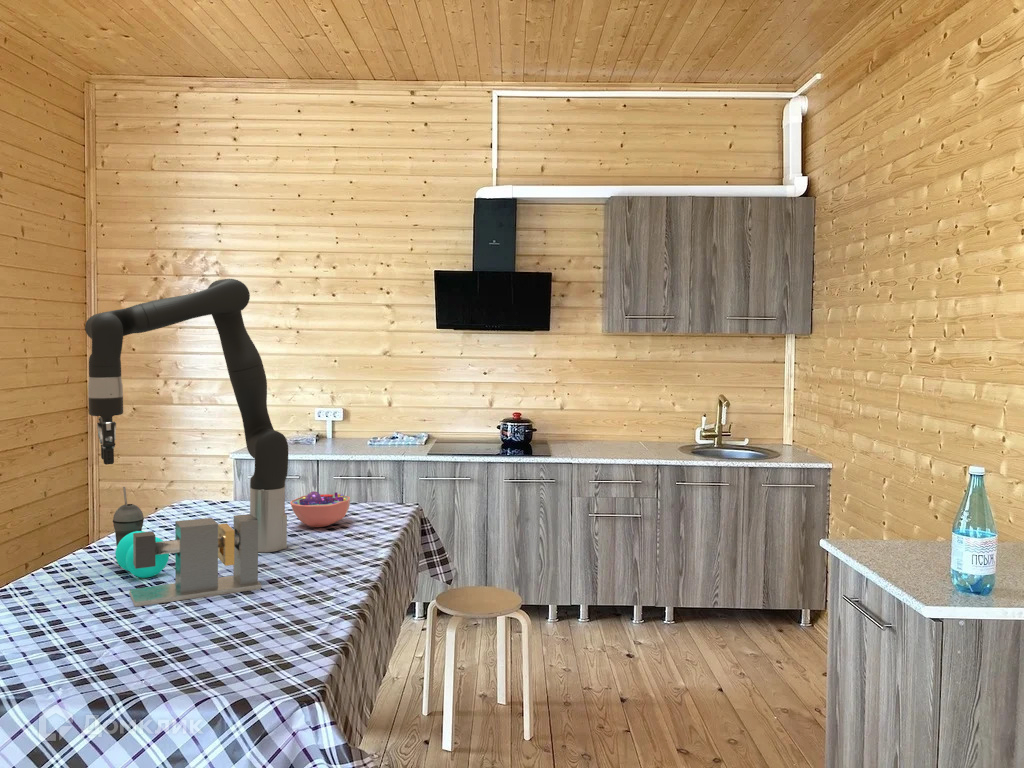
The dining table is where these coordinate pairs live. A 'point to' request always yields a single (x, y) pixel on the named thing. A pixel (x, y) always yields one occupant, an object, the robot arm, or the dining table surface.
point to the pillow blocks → (206, 563)
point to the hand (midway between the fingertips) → (107, 461)
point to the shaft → (159, 548)
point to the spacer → (226, 544)
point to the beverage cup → (127, 519)
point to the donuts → (126, 558)
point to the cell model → (320, 508)
